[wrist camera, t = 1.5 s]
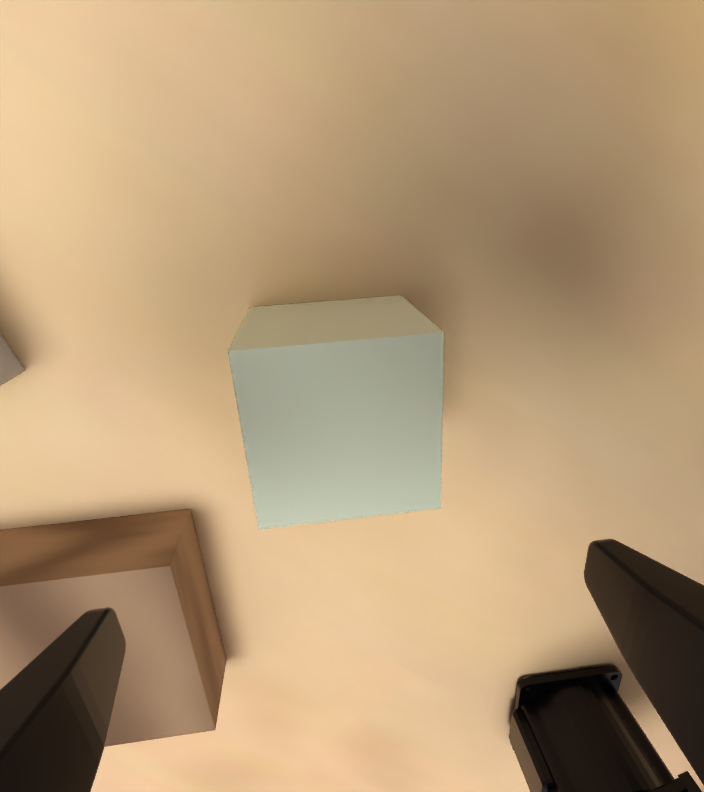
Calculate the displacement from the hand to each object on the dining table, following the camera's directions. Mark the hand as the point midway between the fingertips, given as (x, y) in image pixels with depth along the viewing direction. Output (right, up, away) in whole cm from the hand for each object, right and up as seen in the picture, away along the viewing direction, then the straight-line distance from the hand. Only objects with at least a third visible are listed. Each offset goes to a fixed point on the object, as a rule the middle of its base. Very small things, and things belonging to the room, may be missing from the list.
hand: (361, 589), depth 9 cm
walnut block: (-12, -6, +14) cm, 20 cm away
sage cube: (-1, +5, +11) cm, 12 cm away
